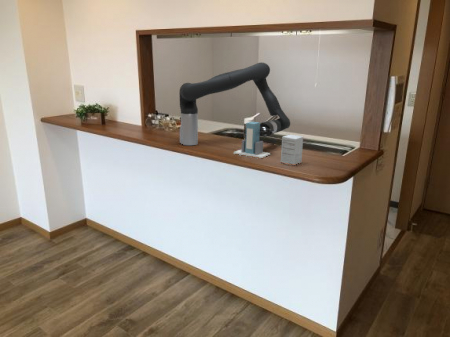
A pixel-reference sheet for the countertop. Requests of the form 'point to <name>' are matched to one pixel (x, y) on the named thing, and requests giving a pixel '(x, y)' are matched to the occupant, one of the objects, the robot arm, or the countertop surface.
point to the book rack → (258, 150)
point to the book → (252, 136)
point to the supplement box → (291, 149)
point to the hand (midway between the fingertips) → (252, 133)
